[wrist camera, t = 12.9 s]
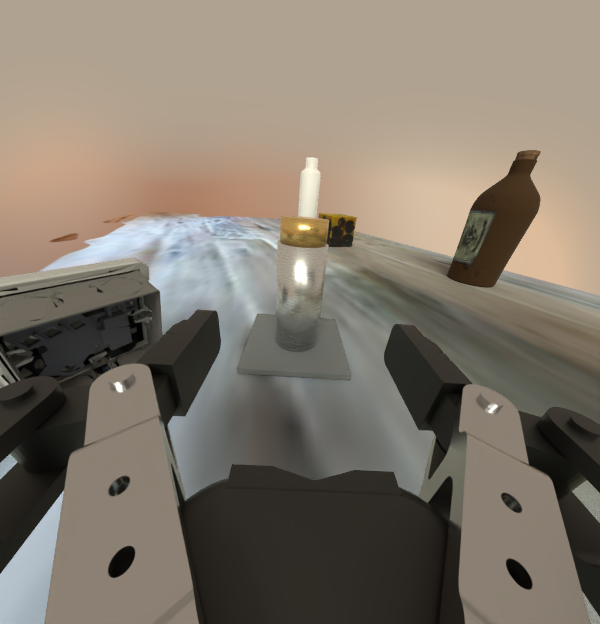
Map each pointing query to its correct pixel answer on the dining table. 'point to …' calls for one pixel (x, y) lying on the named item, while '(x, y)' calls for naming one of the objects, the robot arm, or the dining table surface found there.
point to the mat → (294, 353)
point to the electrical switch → (76, 321)
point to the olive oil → (497, 225)
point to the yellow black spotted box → (339, 229)
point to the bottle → (309, 189)
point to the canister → (300, 281)
